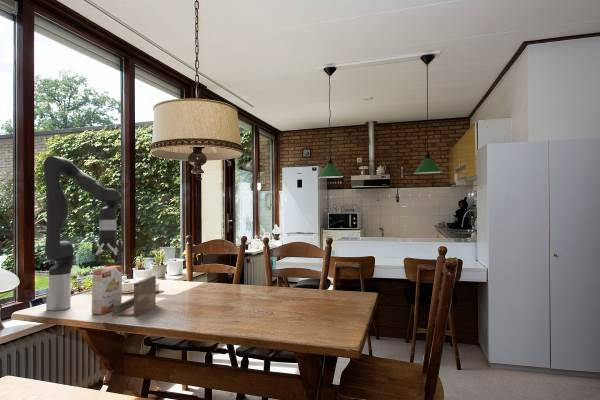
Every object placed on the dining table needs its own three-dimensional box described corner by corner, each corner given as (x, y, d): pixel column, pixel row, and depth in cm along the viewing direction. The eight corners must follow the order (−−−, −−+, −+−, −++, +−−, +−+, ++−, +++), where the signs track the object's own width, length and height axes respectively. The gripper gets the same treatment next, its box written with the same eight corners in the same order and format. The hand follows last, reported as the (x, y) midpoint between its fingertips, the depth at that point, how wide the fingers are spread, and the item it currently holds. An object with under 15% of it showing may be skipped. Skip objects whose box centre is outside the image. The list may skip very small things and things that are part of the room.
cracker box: (102, 315, 172) (102, 270, 172) (90, 314, 173) (91, 269, 174) (122, 307, 186) (122, 265, 186) (111, 306, 187) (112, 265, 187)
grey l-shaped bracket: (112, 316, 170) (112, 283, 171) (132, 304, 190) (132, 275, 191) (137, 316, 170) (138, 283, 170) (155, 305, 190) (155, 275, 190)
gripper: (88, 229, 177) (88, 263, 176) (118, 229, 177) (118, 263, 176) (97, 228, 184) (97, 261, 184) (126, 228, 184) (126, 261, 184)
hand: (107, 262), depth 180 cm, fingers open, 8 cm apart
